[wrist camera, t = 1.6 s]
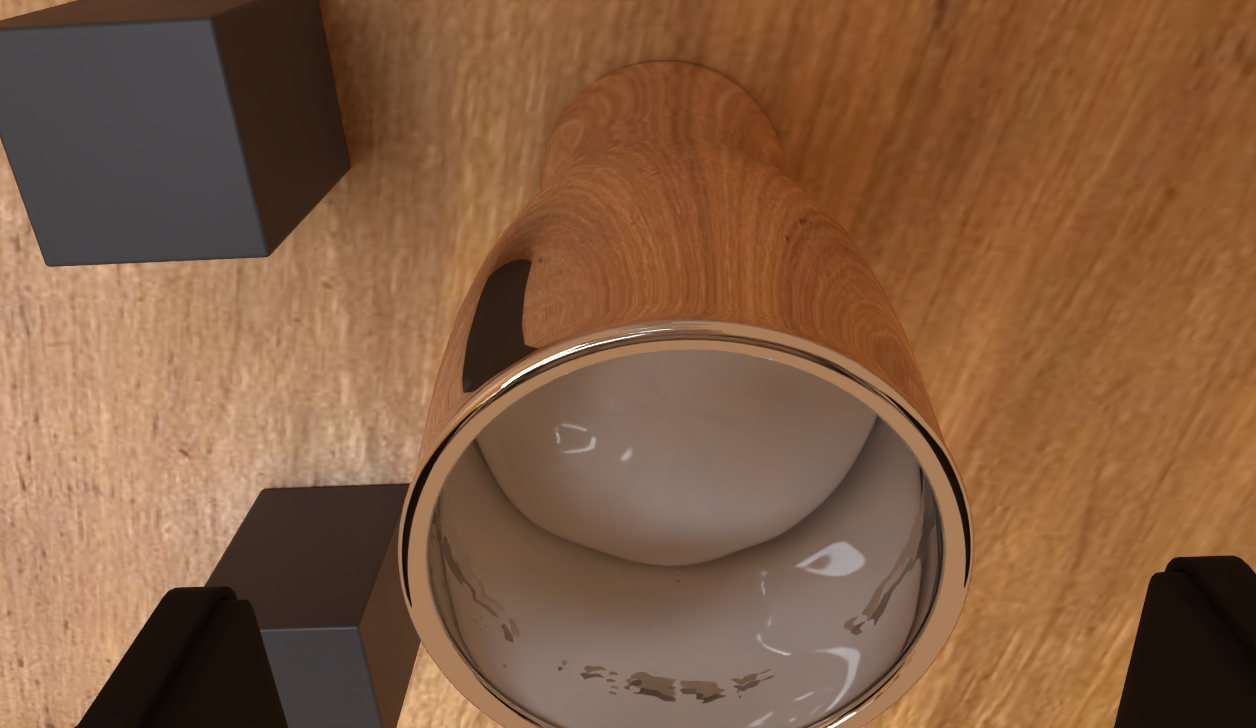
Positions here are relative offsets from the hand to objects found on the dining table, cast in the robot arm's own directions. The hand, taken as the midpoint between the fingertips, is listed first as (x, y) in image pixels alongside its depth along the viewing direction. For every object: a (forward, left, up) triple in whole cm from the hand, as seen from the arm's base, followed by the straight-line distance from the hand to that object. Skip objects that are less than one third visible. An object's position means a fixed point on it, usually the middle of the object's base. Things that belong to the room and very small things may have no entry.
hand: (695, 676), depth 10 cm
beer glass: (0, 0, -16) cm, 16 cm away
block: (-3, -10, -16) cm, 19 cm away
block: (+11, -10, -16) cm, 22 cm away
